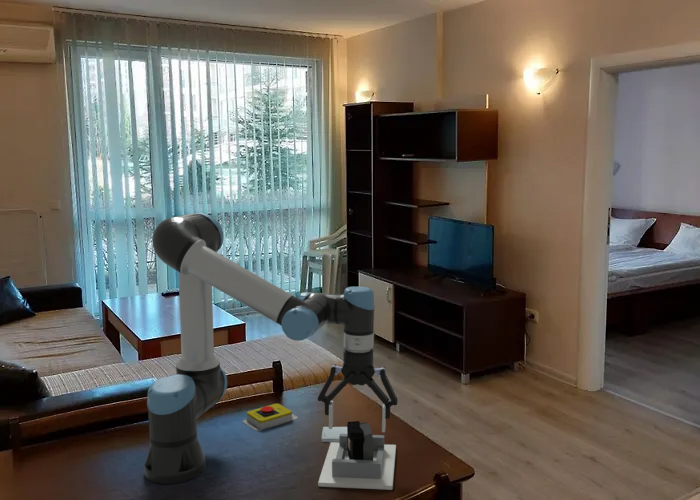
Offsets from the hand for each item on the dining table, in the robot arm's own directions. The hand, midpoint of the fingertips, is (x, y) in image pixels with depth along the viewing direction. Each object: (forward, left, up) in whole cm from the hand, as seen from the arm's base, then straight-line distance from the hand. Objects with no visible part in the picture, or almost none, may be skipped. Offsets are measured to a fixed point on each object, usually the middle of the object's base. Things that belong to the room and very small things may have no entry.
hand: (357, 428), depth 162 cm
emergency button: (-29, +27, -11) cm, 41 cm away
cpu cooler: (+1, 0, -9) cm, 9 cm away
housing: (0, 0, -10) cm, 10 cm away
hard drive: (-6, +18, -11) cm, 22 cm away
